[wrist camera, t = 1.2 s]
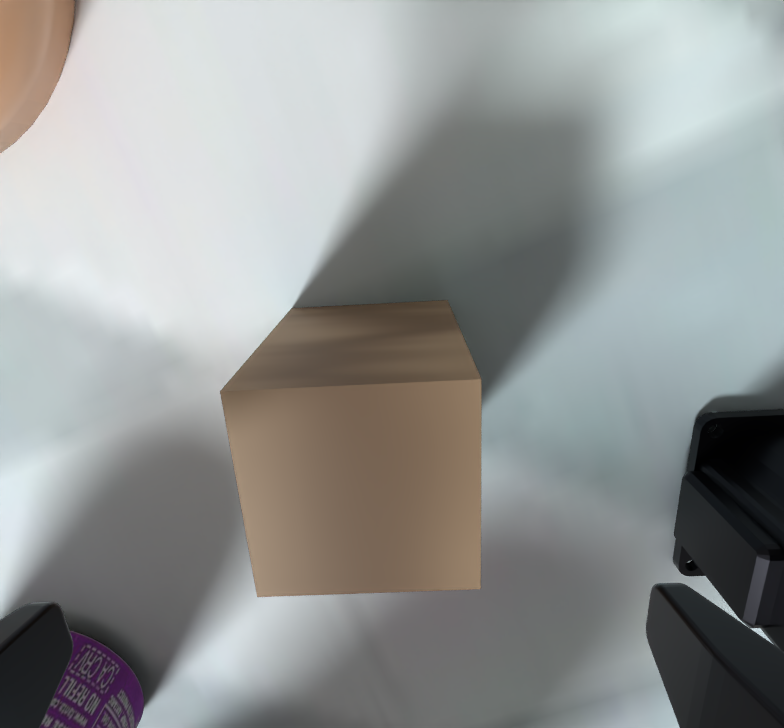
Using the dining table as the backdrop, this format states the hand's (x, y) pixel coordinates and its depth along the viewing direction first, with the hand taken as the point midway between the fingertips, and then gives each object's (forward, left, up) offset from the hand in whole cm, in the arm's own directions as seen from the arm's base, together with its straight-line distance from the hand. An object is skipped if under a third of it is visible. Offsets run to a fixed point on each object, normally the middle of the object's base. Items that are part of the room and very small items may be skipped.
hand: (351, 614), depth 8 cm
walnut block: (0, 0, -10) cm, 10 cm away
